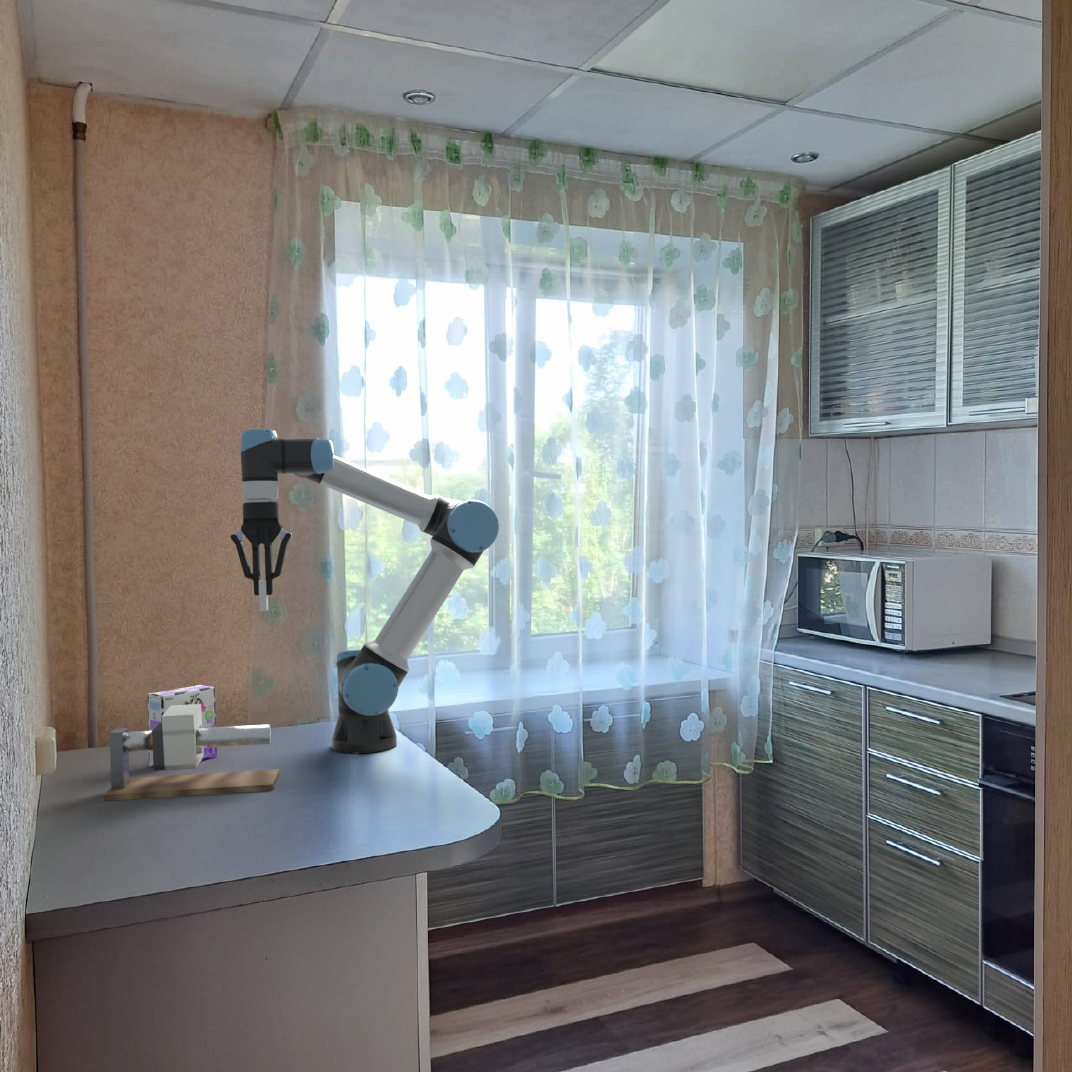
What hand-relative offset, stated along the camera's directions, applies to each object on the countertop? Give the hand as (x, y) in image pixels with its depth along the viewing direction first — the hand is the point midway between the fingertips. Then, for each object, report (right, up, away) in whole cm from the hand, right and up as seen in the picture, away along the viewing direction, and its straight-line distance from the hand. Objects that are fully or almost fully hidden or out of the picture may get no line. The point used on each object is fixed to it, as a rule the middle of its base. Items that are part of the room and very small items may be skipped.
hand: (263, 610), depth 211 cm
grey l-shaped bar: (-11, -34, -13) cm, 38 cm away
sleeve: (-12, -30, -13) cm, 35 cm away
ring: (-16, -30, -14) cm, 37 cm away
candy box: (-20, -35, +9) cm, 42 cm away
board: (-10, -35, -13) cm, 39 cm away
